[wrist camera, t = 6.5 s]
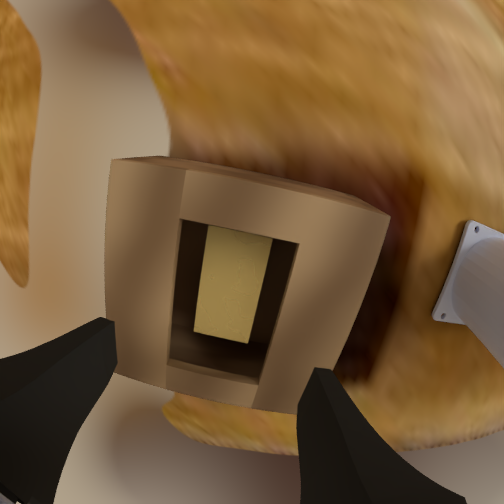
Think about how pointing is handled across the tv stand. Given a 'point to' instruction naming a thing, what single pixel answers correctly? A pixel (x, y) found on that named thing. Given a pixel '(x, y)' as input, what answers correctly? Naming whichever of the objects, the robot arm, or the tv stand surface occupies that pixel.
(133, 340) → the box
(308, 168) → the tv stand surface
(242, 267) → the block
